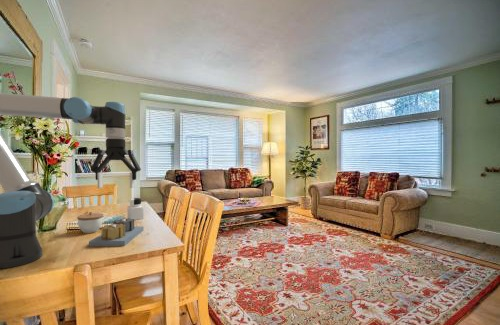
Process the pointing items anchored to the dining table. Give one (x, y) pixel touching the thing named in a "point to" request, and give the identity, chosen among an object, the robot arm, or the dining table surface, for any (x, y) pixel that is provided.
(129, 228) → the dark gear
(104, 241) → the gear board
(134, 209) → the medicine bottle
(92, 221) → the lidded jar
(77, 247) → the dining table surface
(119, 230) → the bronze gear
